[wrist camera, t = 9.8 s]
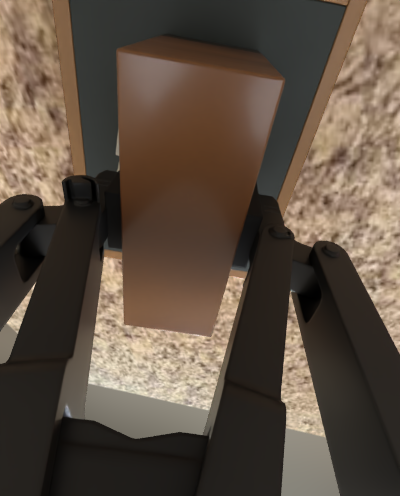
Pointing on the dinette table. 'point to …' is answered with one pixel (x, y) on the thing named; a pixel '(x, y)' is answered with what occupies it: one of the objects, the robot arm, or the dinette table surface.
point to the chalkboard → (214, 30)
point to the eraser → (187, 172)
